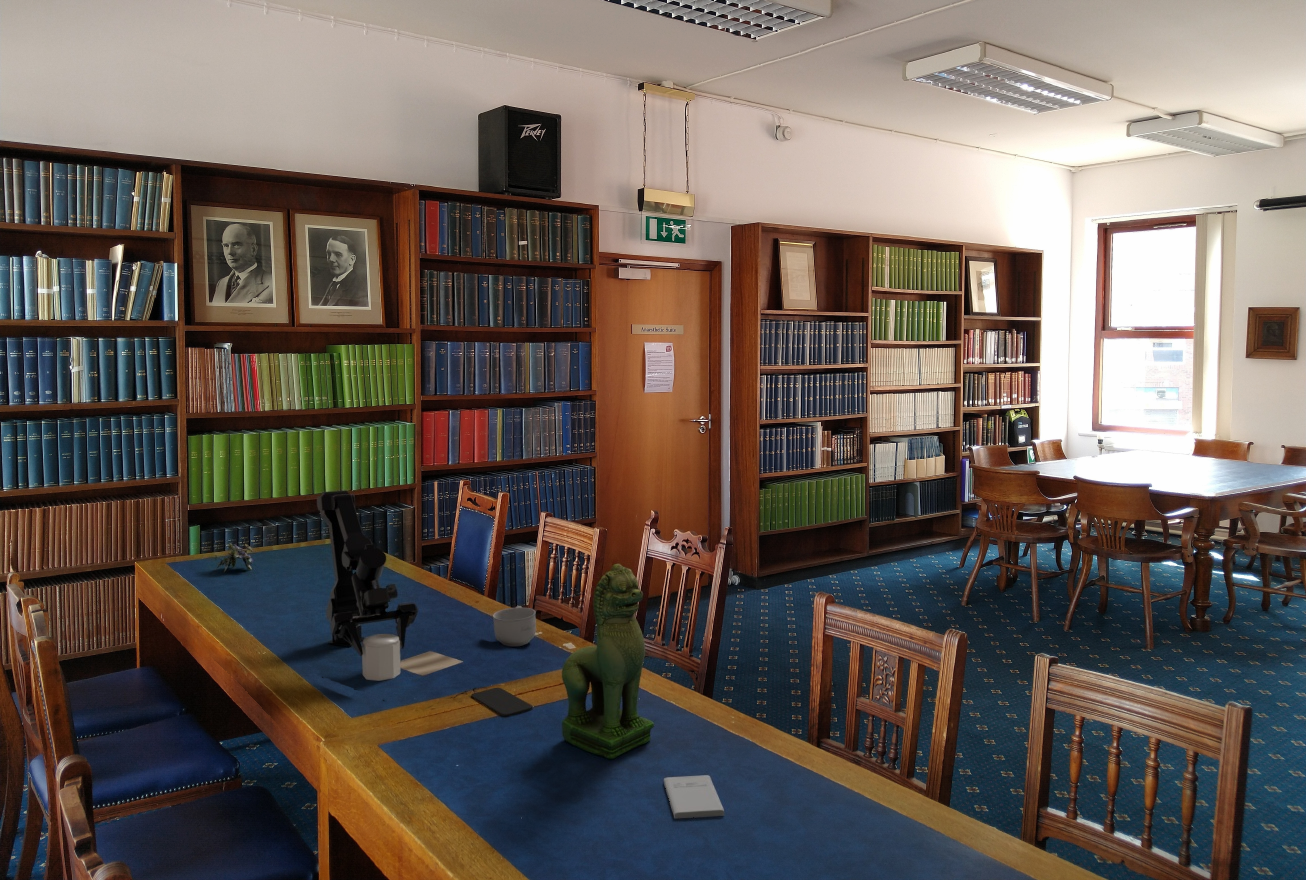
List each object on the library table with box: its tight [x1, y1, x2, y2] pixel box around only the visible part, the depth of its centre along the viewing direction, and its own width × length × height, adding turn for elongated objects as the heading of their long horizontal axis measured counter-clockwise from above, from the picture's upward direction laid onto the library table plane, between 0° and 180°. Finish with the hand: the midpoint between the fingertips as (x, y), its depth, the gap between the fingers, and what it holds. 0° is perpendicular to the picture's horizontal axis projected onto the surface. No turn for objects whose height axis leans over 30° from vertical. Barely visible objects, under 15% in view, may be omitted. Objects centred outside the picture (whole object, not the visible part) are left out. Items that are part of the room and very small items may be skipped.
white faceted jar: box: [361, 633, 401, 682], centre depth 208 cm, size 8×8×10 cm
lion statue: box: [561, 563, 655, 760], centre depth 177 cm, size 14×17×35 cm
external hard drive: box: [663, 774, 725, 820], centre depth 156 cm, size 2×8×12 cm
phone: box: [470, 687, 534, 718], centre depth 197 cm, size 7×1×15 cm
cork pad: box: [400, 650, 464, 677], centre depth 216 cm, size 12×12×2 cm
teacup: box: [492, 605, 537, 647], centre depth 237 cm, size 14×11×8 cm
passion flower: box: [214, 542, 254, 573], centre depth 307 cm, size 11×11×12 cm
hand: (382, 651), depth 207 cm, fingers open, 9 cm apart
